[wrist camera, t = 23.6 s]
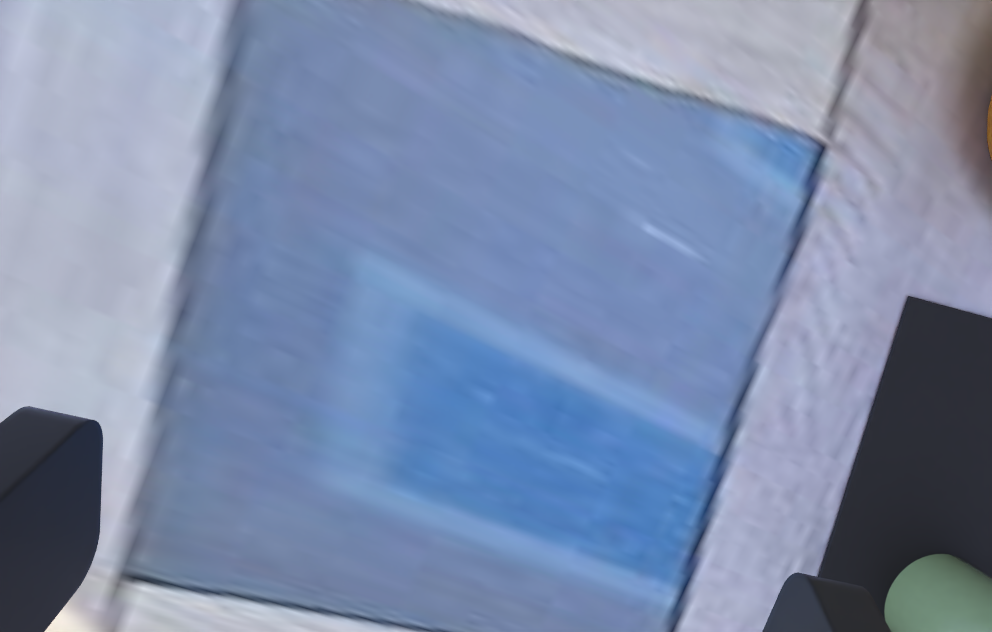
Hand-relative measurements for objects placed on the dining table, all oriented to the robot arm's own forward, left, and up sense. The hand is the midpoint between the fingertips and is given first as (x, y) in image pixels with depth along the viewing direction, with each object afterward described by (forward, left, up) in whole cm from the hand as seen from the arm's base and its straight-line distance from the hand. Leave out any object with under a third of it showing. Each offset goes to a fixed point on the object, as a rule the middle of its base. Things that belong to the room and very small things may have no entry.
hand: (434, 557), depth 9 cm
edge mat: (+17, +24, -24) cm, 38 cm away
